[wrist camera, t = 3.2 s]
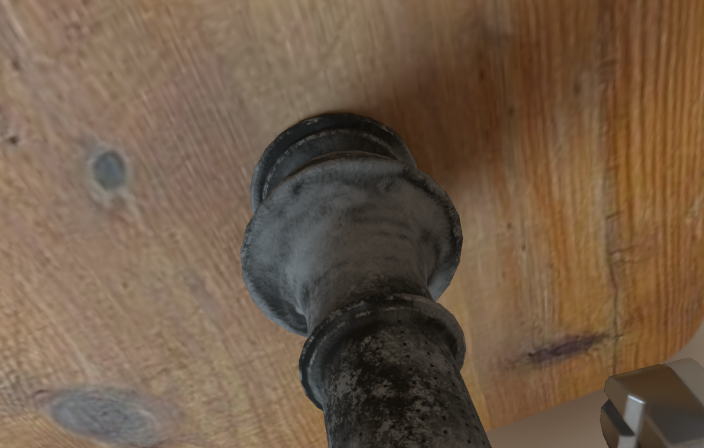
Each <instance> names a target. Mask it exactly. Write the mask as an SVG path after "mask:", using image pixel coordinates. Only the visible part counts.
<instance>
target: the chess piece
mask: <svg viewBox="0 0 704 448" xmlns="http://www.w3.org/2000/svg"><path fill="white" fill-rule="evenodd" d="M251 203H252V211H253V213H254V215H253V217H252V218H251V220H250V222H249V224H248V225H247V228H246V232H245V236H244V240H243V244H242V249H241V262H242V274H243V280H244V282H245V284H246V287H247V289H248V291H249V293H250V296H251V298H252V300H253V301H254V302H255V304H256V305H257V306H258V307H259V308H260V309H261V310H262V312H263V313H264V314H265V315H266V316H267V317H268V318H269V319H270V320H272V321H274V322H275V323H277V324H278V325H280V326H281V327H283V328H284V329H286V330H287V331H289V332H292V333H295V334H298V335H301V336H304V337H307V338H308V339H307V340H306V342H305V343H304V346H303V350H302V353H301V356H300V359H299V376H300V382H301V384H302V387H303V389H304V391H305V394H306V396H307V397H308V398H309V399H310V400H311V401H312V402H313V403H314V404H315V406H316V407H317V408H319V409H321V410H322V411H323V413H324V420H325V426H326V433H327V440H328V447H329V448H492V447H491V445H490V443H489V440H488V438H487V435H486V433H485V431H484V428H483V426H482V424H481V421H480V419H479V416H478V414H477V412H476V409H475V407H474V404H473V402H472V400H471V397H470V395H469V392H468V390H467V388H466V385H465V383H464V381H463V378H462V376H461V373H460V370H461V368H462V366H463V364H464V358H465V353H466V344H465V338H464V333H463V330H462V329H461V327H460V325H459V323H458V322H457V320H456V318H455V317H454V315H453V314H451V313H450V312H449V311H448V310H447V309H445V308H444V307H443V306H442V305H441V304H439V303H437V302H436V301H437V299H438V298H439V297H440V296H441V294H442V293H443V292H444V291H445V289H446V288H447V287H448V286H449V284H450V282H451V280H452V278H453V275H454V273H455V271H456V269H457V267H458V264H459V262H460V255H461V248H462V242H463V237H462V230H461V224H460V218H459V215H458V213H457V211H456V209H455V207H454V205H453V203H452V201H451V199H450V198H449V196H448V194H447V192H446V191H445V190H444V189H443V188H442V187H441V186H440V185H439V184H438V183H437V182H435V181H434V180H433V179H432V178H431V177H430V176H429V175H428V174H427V173H425V172H423V171H421V170H419V169H417V164H416V161H415V159H414V157H413V156H412V154H411V152H410V150H409V148H408V146H407V145H406V143H405V142H404V141H403V140H402V139H401V138H400V137H399V136H398V135H397V134H396V133H395V132H394V131H393V130H392V129H391V128H389V127H387V126H385V125H383V124H381V123H379V122H378V121H376V120H374V119H372V118H368V117H364V116H359V115H355V114H350V113H343V114H324V115H321V116H317V117H314V118H310V119H307V120H303V121H301V122H299V123H298V124H296V125H294V126H293V127H291V128H289V129H287V130H286V131H284V132H282V133H281V134H280V135H279V136H278V137H277V138H276V139H275V140H274V141H273V142H272V143H271V144H270V145H269V146H268V147H267V148H266V149H265V151H264V153H263V155H262V157H261V158H260V160H259V162H258V164H257V165H256V167H255V171H254V175H253V179H252V183H251Z"/></svg>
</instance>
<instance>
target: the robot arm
mask: <svg viewBox="0 0 704 448" xmlns="http://www.w3.org/2000/svg"><path fill="white" fill-rule="evenodd" d="M604 392H605V393H606V395H607V396H608V398H609V400H608V401H607V402H606V403H605V404H604V405H603V406H602V407H601V415H600V423H601V427H602V432H603V436H604V438H605V440H606V442H607V445H608V447H609V448H704V368H703V367H702V366H701V365H700V364H699V363H698V362H697V361H695V360H693V359H691V358H686V359H681V360H677V361H673V362H669V363H665V364H657V365H653V366H649V367H645V368H641V369H637V370H633V371H629V372H625V373H621V374H617V375H612V376H609V378H608V379H607V380H606V381H605V387H604Z"/></svg>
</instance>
